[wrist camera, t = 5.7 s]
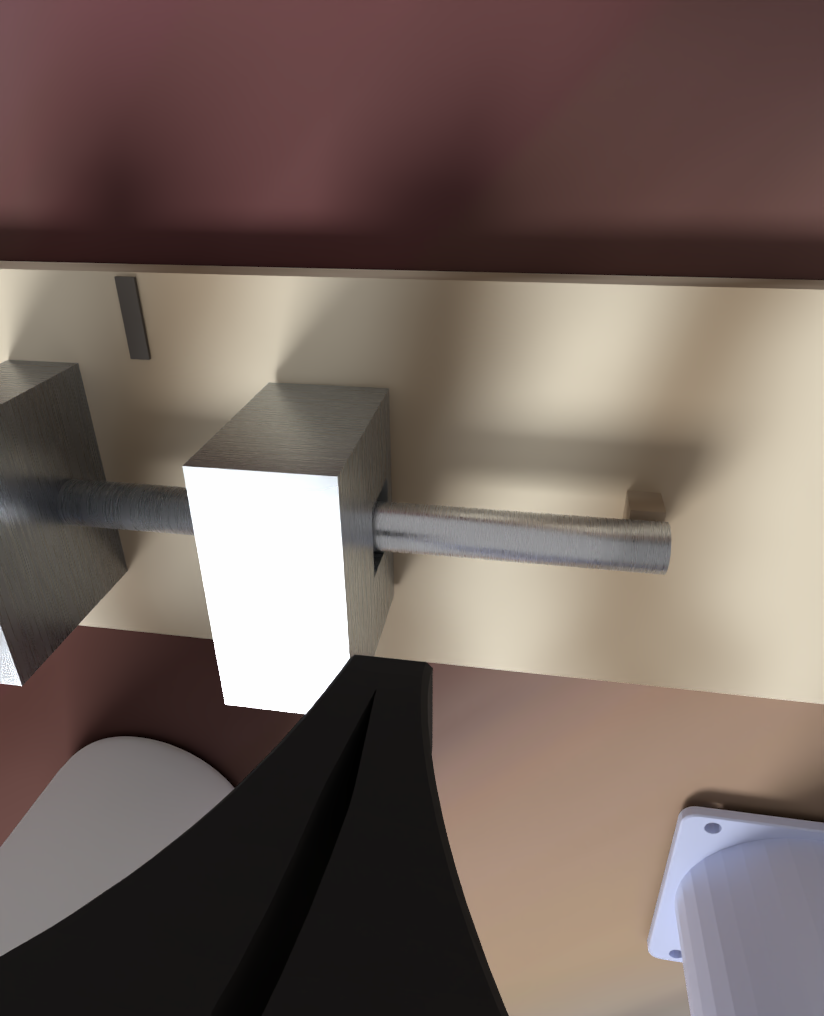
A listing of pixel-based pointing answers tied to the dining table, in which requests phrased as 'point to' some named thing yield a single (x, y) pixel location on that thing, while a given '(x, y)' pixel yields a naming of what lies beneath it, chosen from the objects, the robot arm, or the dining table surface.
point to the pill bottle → (98, 828)
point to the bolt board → (440, 459)
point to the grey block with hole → (293, 539)
